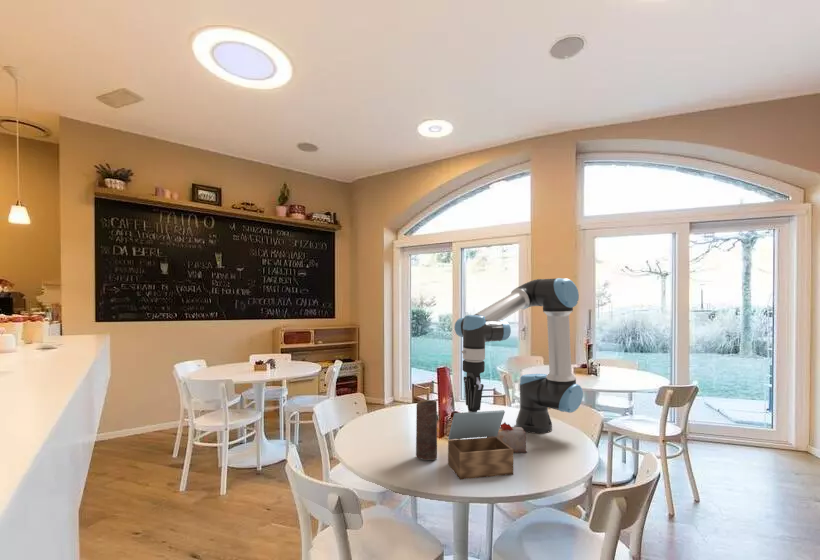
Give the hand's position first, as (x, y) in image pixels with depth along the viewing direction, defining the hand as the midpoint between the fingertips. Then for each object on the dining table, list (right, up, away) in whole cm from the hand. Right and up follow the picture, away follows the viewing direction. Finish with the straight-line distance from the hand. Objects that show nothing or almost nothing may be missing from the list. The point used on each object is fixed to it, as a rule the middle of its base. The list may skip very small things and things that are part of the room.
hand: (472, 428), depth 141 cm
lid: (+1, +2, -3) cm, 3 cm away
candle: (-16, -12, +2) cm, 20 cm away
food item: (+14, -12, +11) cm, 22 cm away
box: (+2, -11, -6) cm, 13 cm away
